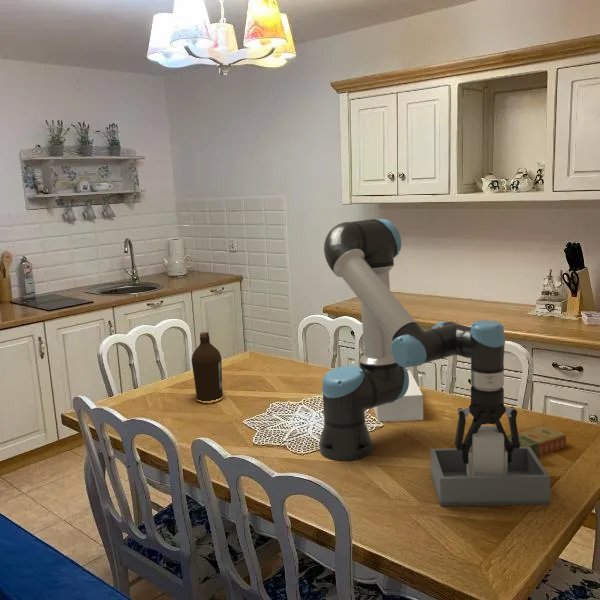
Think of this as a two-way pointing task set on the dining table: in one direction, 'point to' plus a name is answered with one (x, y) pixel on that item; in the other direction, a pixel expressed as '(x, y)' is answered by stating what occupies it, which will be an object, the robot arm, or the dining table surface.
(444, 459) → the open box
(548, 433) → the carton
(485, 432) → the supplement box
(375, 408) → the hammer embossed block
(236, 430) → the dining table surface
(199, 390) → the olive oil
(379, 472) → the dining table surface
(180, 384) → the dining table surface
